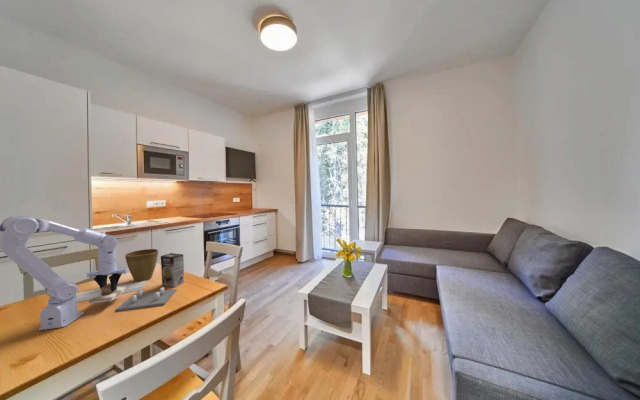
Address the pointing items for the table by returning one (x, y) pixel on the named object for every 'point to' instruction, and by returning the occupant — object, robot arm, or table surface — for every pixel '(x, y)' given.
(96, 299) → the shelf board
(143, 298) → the peg stand
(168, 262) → the coffee box
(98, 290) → the baseboard molding
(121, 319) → the table surface
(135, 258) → the plant pot
